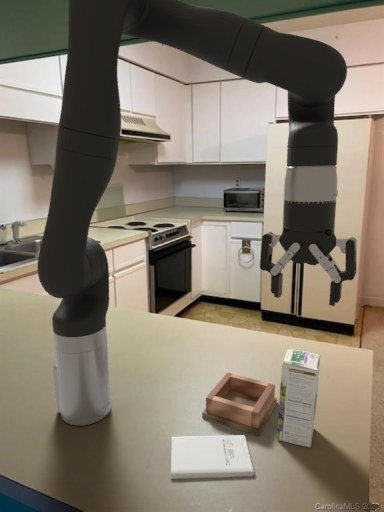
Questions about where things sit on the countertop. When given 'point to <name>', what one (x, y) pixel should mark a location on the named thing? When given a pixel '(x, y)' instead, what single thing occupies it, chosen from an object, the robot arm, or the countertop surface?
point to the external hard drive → (210, 457)
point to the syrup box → (298, 397)
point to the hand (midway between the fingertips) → (304, 300)
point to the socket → (241, 403)
